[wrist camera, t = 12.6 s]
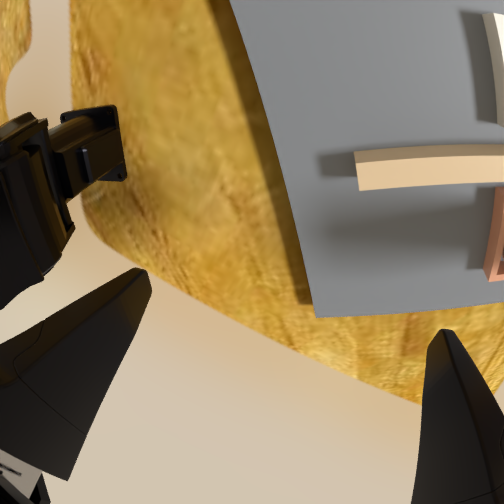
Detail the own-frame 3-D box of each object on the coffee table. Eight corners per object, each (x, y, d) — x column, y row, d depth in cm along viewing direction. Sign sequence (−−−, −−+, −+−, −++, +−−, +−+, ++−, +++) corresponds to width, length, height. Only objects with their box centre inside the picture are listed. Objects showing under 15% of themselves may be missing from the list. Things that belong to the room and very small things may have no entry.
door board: (317, 304, 26) (313, 335, 24) (229, -19, 12) (207, -31, 10) (526, 285, 19) (539, 313, 16) (532, -21, 5) (559, -24, 2)
